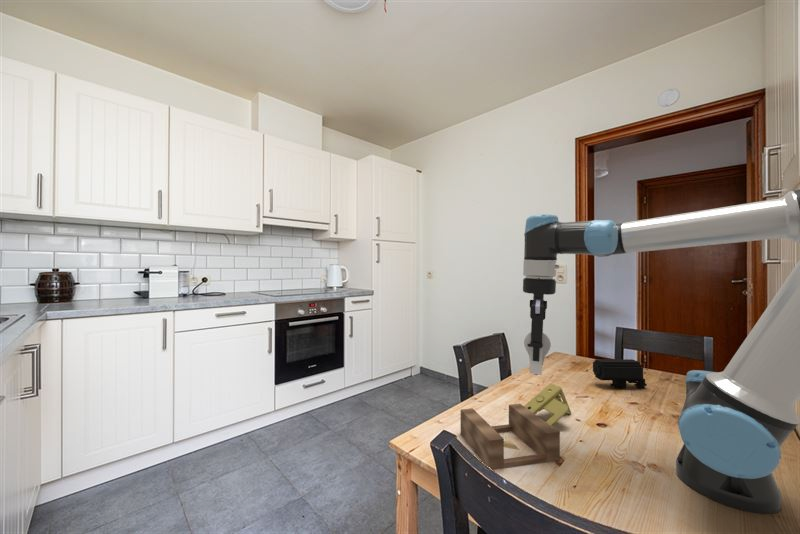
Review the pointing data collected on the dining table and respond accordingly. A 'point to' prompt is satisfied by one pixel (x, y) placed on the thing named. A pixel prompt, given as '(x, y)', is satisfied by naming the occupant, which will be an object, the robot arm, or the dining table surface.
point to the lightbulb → (545, 341)
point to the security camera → (619, 372)
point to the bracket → (550, 403)
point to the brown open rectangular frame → (492, 444)
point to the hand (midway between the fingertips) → (535, 369)
